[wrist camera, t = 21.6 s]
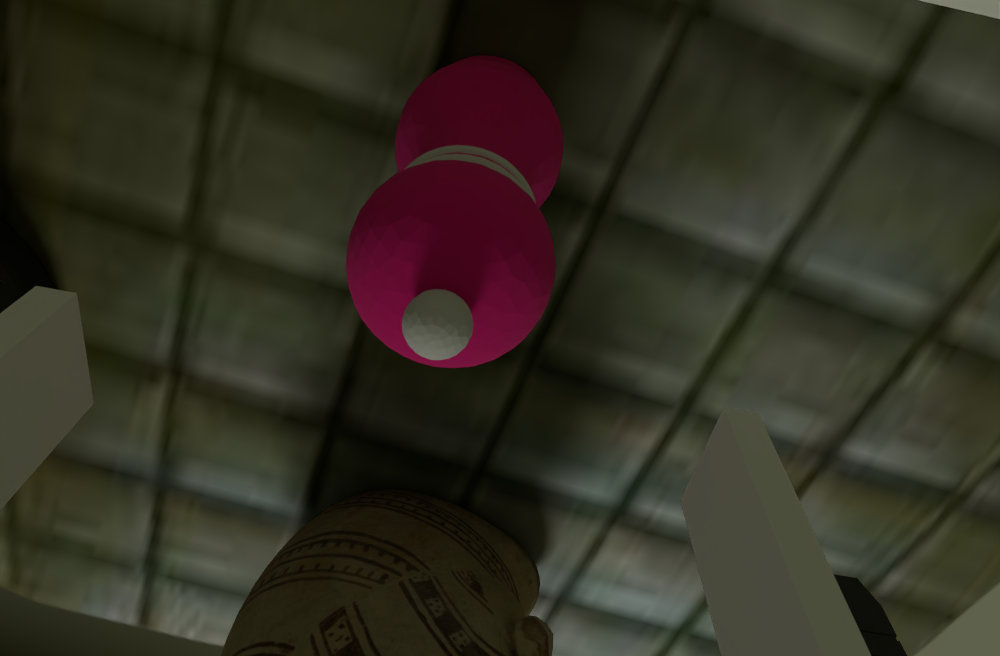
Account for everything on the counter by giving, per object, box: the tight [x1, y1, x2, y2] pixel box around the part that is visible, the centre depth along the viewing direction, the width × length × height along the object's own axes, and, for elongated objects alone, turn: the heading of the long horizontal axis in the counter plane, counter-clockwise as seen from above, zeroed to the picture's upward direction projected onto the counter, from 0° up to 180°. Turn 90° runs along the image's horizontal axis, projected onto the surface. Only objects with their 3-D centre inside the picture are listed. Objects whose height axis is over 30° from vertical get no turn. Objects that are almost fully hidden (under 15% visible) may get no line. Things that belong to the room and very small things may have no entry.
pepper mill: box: [346, 55, 563, 368], centre depth 25 cm, size 7×7×20 cm
